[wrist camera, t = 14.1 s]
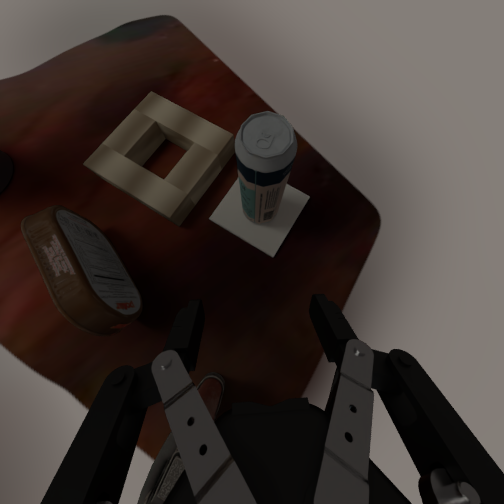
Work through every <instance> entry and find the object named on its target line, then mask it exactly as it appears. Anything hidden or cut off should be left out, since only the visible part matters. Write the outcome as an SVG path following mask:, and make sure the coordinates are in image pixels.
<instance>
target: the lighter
mask: <svg viewBox="0 0 504 504" xmlns="http://www.w3.org/2000/svg"><path fill="white" fill-rule="evenodd" d="M224 388H225V382H224V379H223V378H222V376H221V375H219V374H218V373H215V372H211V373H208V374H207V375H206V376H205V377H204V378H203V379H202V381H201V382H200V384H199V385H198V387H197V390H198V392H199V394H200V396H201V398H202V400H203V402H204V404H205V406H206V408H207V410H208V412H209V413H210V415H211V417H212V419H213V421H214V420H215V418H216V415H217V412H218V410H219V407H220V403H221V399H222V395H223V392H224ZM184 469H185V468H184V465H183V462H182V459H181V456H180V453H179V450H178V448H177V445H176V442H175V439H174V436H173V433H172V431H171V433H170V434H169V436H168V438H167V439H166V441H165V443H164V445H163V446H162V448H161V450H160V452H159V454H158V455H157V457H156V459H155V461H154V463H153V465H152V467H151V469H150V471H149V474H148V476H147V479H146V481H145V484H144V486H143V488H142V491H141V494H140V497H139V500H138V503H137V504H163V503H164V501H165V499H166V498H167V496H168V494H169V493H170V491H171V490H172V488H173V486H174V485H175V483H176V482H177V480H178V478H179V477H180V475H181V474H182V472H183V470H184Z"/></svg>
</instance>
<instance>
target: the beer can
mask: <svg viewBox="0 0 504 504" xmlns="http://www.w3.org/2000/svg"><path fill="white" fill-rule="evenodd" d="M296 151H297V141H296V136H295V133H294V131H293V127H292V125H291V124H290V123H289V122H288V121H287V119H286V118H285V117H284V116H282V115H279V114H275V113H272V112H269V111H266V112H262V113H257V114H253V115H251V116H250V117H249V118H248V119H247V120H246V121H245V122H244V123H243V124H242V125H241V128H240V130H239V132H238V134H237V137H236V140H235V152H236V160H237V168H238V176H239V185H240V193H241V201H242V209H243V213H244V215H245V217H246V218H247V219H248V220H249V221H251V222H253V223H256V224H265V223H268V222H270V221H271V220H273V219H274V218H275V216H276V215H277V212H278V209H279V206H280V203H281V200H282V196H283V193H284V190H285V187H286V184H287V181H288V177H289V174H290V171H291V168H292V165H293V161H294V158H295V155H296Z"/></svg>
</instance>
